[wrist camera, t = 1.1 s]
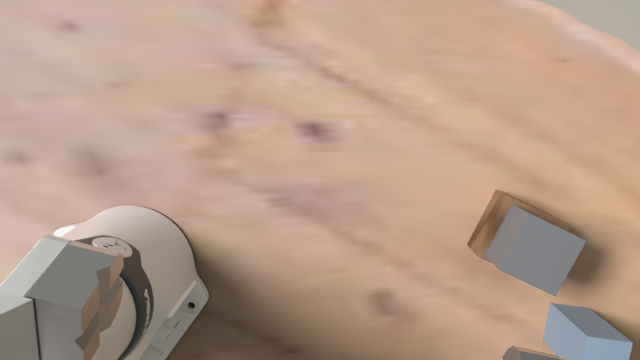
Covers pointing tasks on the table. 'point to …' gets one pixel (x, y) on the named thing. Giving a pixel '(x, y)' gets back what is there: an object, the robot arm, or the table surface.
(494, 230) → the tower base
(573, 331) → the pillar
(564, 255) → the tower middle
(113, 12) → the table surface
